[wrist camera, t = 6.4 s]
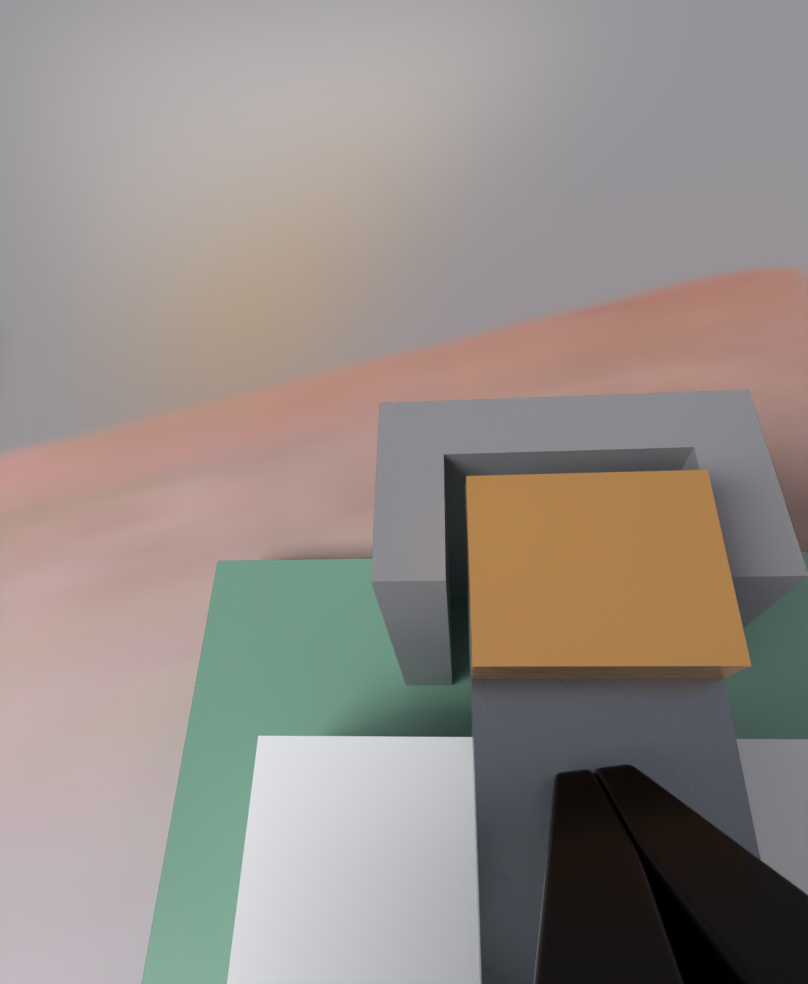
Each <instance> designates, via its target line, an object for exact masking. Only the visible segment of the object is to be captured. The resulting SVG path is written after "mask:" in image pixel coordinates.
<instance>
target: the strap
mask: <svg viewBox="0 0 808 984" xmlns="http://www.w3.org/2000/svg"><path fill="white" fill-rule="evenodd" d="M465 530H466V562H467V593H468V624H469V656H470V687H471V719H472V750H473V781H474V813H475V844H476V875H477V907H478V938H479V970H480V984H533V982H534V972H535V962H536V952H537V942H538V933H539V923H540V913H541V903H542V894H543V884H544V874H545V864H546V854H547V845H548V835H549V825H550V815H551V805H552V796H553V786H554V778H555V776H556V774H557V773H559V772H566V771H574V770H582V769H588V770H590V771H592V772H593V773H594V771H595V770H596V769H597V768H599V767H606V766H614V765H622V764H629V765H632V766H634V767H636V768H637V769H639V770H640V771H641V772H643V773H644V774H645V775H647V776H648V777H650V778H651V779H652V780H654V781H655V782H656V783H658V784H659V785H660V786H662V787H663V788H664V789H666V790H667V791H668V792H670V793H671V794H672V795H674V796H675V797H677V798H678V799H679V800H681V801H682V802H683V803H685V804H686V805H687V806H689V807H690V808H691V809H693V810H694V811H695V812H697V813H698V814H700V815H701V816H702V817H704V818H705V819H706V820H708V821H709V822H710V823H712V824H713V825H714V826H716V827H717V828H718V829H720V830H721V831H723V832H724V833H725V834H727V835H728V836H729V837H731V838H732V839H733V840H735V841H736V842H737V843H739V844H740V845H741V846H743V847H744V848H745V849H747V850H748V851H750V852H751V853H752V854H754V855H755V856H756V857H758V858H759V859H760V854H759V849H758V844H757V839H756V834H755V829H754V825H753V820H752V815H751V810H750V805H749V800H748V795H747V790H746V785H745V780H744V775H743V770H742V765H741V760H740V755H739V750H738V746H737V741H736V736H735V731H734V726H733V721H732V716H731V711H730V706H729V701H728V696H727V691H726V686H725V681H724V678H726V677H728V676H731V675H733V674H735V673H737V672H739V671H742V670H744V669H746V668H748V667H750V666H751V661H750V657H749V652H748V648H747V643H746V639H745V634H744V630H743V625H742V621H741V616H740V612H739V607H738V603H737V599H736V594H735V590H734V585H733V581H732V576H731V572H730V567H729V563H728V558H727V554H726V549H725V545H724V540H723V536H722V531H721V527H720V522H719V518H718V513H717V509H716V504H715V500H714V495H713V491H712V486H711V482H710V477H709V473H708V470H676V471H638V472H599V473H561V474H523V475H484V476H466V483H465ZM760 860H761V859H760Z"/></svg>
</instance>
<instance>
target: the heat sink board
mask: <svg viewBox="0 0 808 984" xmlns="http://www.w3.org/2000/svg"><path fill="white" fill-rule="evenodd" d="M676 470H708V473H709V477H710V482H711V486H712V491H713V495H714V500H715V504H716V509H717V513H718V518H719V522H720V527H721V531H722V536H723V540H724V545H725V549H726V554H727V558H728V563H729V567H730V572H731V576H732V581H733V585H734V590H735V594H736V599H737V603H738V607H739V612H740V616H741V621H742V625H743V630H744V634H745V639H746V643H747V648H748V652H749V657H750V661H751V666H750V667H748V668H746V669H744V670H742V671H739V672H737V673H735V674H733V675H731V676H728V677H726V678H724V681H725V686H726V691H727V696H728V701H729V706H730V711H731V716H732V721H733V726H734V731H735V736H736V741H737V746H738V750H739V755H740V760H741V765H742V770H743V775H744V780H745V785H746V790H747V795H748V800H749V805H750V810H751V815H752V820H753V825H754V829H755V834H756V839H757V844H758V849H759V854H760V859H761V860H762V861H763V862H764V863H766V864H767V865H768V866H770V867H771V868H773V869H774V870H775V871H777V872H778V873H779V874H781V875H782V876H783V877H785V878H786V879H787V880H789V881H790V882H791V883H793V884H794V885H796V886H797V887H798V888H800V889H801V890H802V891H804V892H805V893H806V894H808V552H801V550H800V547H799V544H798V541H797V538H796V534H795V531H794V528H793V525H792V522H791V519H790V516H789V513H788V510H787V507H786V503H785V500H784V497H783V494H782V491H781V488H780V485H779V482H778V479H777V476H776V472H775V469H774V466H773V463H772V460H771V457H770V454H769V451H768V448H767V445H766V441H765V438H764V435H763V432H762V429H761V426H760V423H759V420H758V417H757V413H756V410H755V407H754V404H753V401H752V398H751V395H750V392H749V390H731V391H703V392H675V393H647V394H619V395H591V396H563V397H535V398H507V399H479V400H451V401H422V402H394V403H379V423H378V444H377V464H376V485H375V506H374V527H373V548H372V558H371V559H308V560H246V561H217V567H216V572H215V578H214V583H213V589H212V594H211V600H210V606H209V611H208V617H207V622H206V628H205V633H204V639H203V644H202V650H201V655H200V661H199V667H198V672H197V678H196V683H195V689H194V694H193V700H192V705H191V711H190V717H189V722H188V728H187V733H186V739H185V744H184V750H183V755H182V761H181V767H180V772H179V778H178V783H177V789H176V794H175V800H174V805H173V811H172V817H171V822H170V828H169V833H168V839H167V844H166V850H165V855H164V861H163V867H162V872H161V878H160V883H159V889H158V894H157V900H156V905H155V911H154V917H153V922H152V928H151V933H150V939H149V944H148V950H147V955H146V961H145V966H144V972H143V978H142V983H141V984H480V970H479V938H478V907H477V875H476V844H475V813H474V781H473V750H472V719H471V687H470V656H469V624H468V593H467V562H466V530H465V483H466V476H484V475H523V474H561V473H599V472H638V471H676Z"/></svg>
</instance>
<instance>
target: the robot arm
mask: <svg viewBox="0 0 808 984" xmlns="http://www.w3.org/2000/svg"><path fill="white" fill-rule="evenodd" d="M533 984H808V894H806V893H805V892H804V891H802V890H801V889H800V888H798V887H797V886H796V885H794V884H793V883H791V882H790V881H789V880H787V879H786V878H785V877H783V876H782V875H781V874H779V873H778V872H777V871H775V870H774V869H773V868H771V867H770V866H768V865H767V864H766V863H764V862H763V861H762V860H760V859H759V858H758V857H756V856H755V855H754V854H752V853H751V852H750V851H748V850H747V849H745V848H744V847H743V846H741V845H740V844H739V843H737V842H736V841H735V840H733V839H732V838H731V837H729V836H728V835H727V834H725V833H724V832H723V831H721V830H720V829H718V828H717V827H716V826H714V825H713V824H712V823H710V822H709V821H708V820H706V819H705V818H704V817H702V816H701V815H700V814H698V813H697V812H695V811H694V810H693V809H691V808H690V807H689V806H687V805H686V804H685V803H683V802H682V801H681V800H679V799H678V798H677V797H675V796H674V795H672V794H671V793H670V792H668V791H667V790H666V789H664V788H663V787H662V786H660V785H659V784H658V783H656V782H655V781H654V780H652V779H651V778H650V777H648V776H647V775H645V774H644V773H643V772H641V771H640V770H639V769H637V768H636V767H634V766H632V765H629V764H622V765H614V766H606V767H599V768H597V769H596V770H595V771H594V773H593V772H592V771H590V770H588V769H582V770H574V771H566V772H559V773H557V774H556V776H555V778H554V786H553V796H552V805H551V815H550V825H549V835H548V845H547V854H546V864H545V874H544V884H543V894H542V903H541V913H540V923H539V933H538V942H537V952H536V962H535V972H534V982H533Z"/></svg>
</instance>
